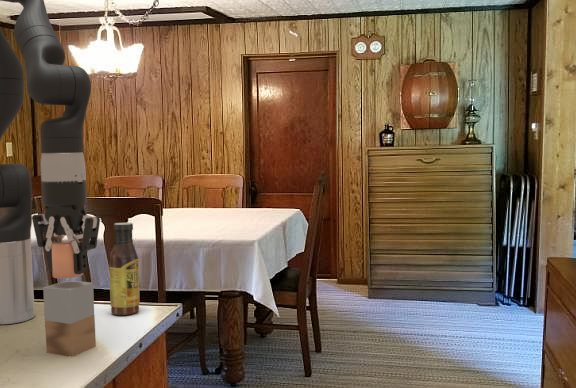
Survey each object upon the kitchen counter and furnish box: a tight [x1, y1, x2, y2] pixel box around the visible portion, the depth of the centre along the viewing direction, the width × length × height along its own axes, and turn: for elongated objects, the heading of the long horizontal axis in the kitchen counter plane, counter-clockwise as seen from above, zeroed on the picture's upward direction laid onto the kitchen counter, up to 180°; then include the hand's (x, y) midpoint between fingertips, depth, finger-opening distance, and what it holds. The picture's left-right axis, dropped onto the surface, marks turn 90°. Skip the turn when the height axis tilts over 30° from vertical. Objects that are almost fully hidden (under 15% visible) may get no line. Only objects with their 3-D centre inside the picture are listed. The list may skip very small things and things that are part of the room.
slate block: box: [42, 279, 95, 324], centre depth 109 cm, size 6×6×6 cm
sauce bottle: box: [109, 222, 141, 316], centre depth 132 cm, size 6×6×20 cm
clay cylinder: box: [51, 239, 84, 279], centre depth 108 cm, size 5×5×6 cm
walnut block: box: [44, 314, 97, 358], centre depth 110 cm, size 6×6×6 cm
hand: (67, 271), depth 109 cm, fingers closed on clay cylinder, 5 cm apart
